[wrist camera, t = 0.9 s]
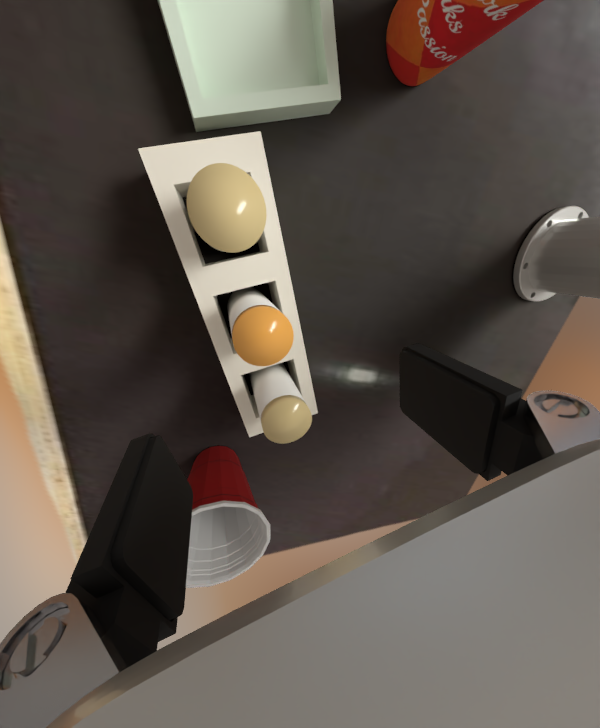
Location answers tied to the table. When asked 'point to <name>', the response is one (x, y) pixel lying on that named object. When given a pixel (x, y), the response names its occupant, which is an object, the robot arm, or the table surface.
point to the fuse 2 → (280, 404)
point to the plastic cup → (222, 520)
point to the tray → (254, 59)
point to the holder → (170, 183)
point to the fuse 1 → (226, 207)
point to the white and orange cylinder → (258, 328)
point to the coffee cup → (443, 32)
